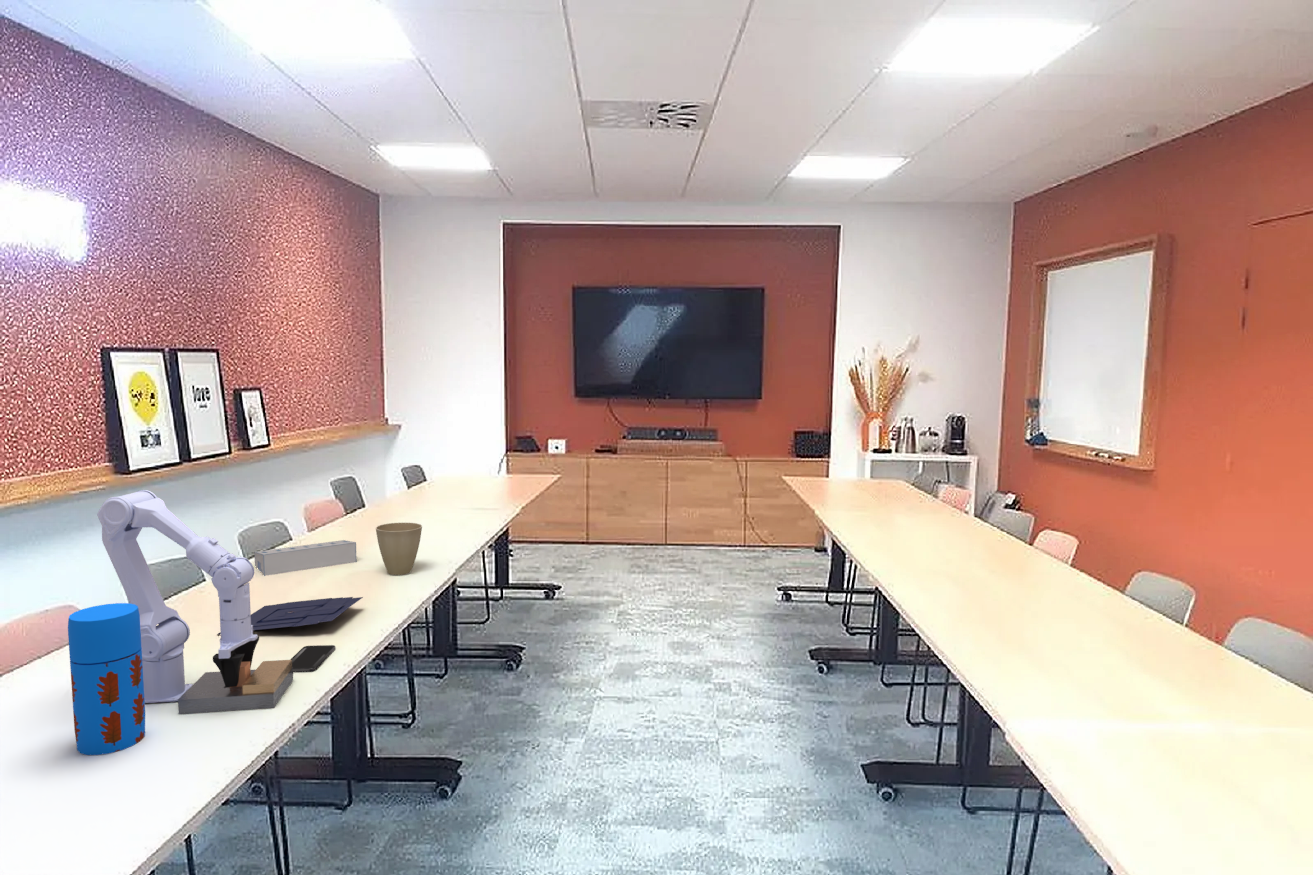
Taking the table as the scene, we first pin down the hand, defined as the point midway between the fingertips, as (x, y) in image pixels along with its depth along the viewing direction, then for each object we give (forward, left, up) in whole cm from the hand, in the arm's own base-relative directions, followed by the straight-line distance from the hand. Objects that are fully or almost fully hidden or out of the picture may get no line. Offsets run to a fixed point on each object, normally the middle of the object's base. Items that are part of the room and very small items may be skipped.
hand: (238, 678), depth 163 cm
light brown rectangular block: (0, 0, -4) cm, 4 cm away
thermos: (-16, -17, -4) cm, 24 cm away
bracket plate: (0, 0, -4) cm, 4 cm away
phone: (+10, +19, -4) cm, 22 cm away
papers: (-2, +49, -4) cm, 49 cm away
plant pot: (+20, +95, -4) cm, 97 cm away
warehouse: (-14, +111, -4) cm, 112 cm away
